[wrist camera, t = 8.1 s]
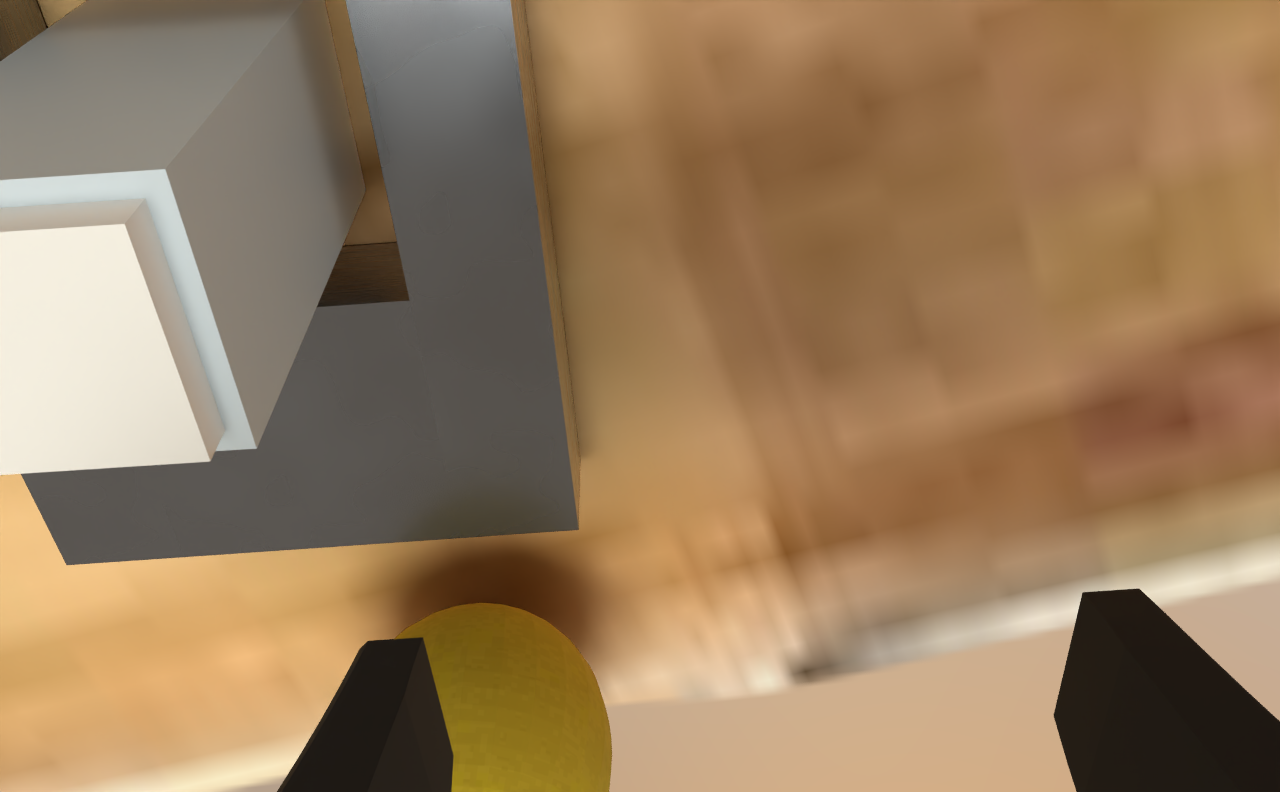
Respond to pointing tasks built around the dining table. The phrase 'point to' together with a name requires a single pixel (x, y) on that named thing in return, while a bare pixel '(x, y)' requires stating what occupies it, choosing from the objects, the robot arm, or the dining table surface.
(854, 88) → the dining table surface
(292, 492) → the port panel
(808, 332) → the dining table surface
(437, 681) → the lemon
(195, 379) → the plug
